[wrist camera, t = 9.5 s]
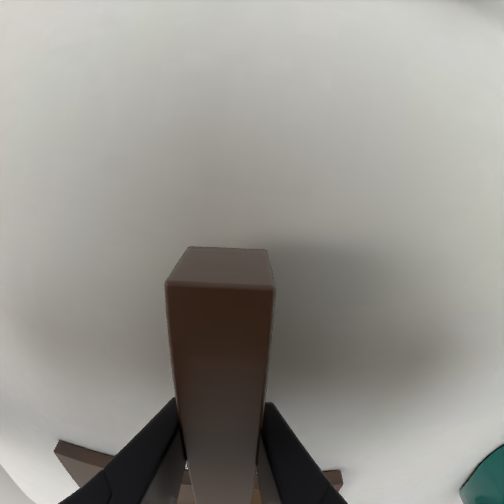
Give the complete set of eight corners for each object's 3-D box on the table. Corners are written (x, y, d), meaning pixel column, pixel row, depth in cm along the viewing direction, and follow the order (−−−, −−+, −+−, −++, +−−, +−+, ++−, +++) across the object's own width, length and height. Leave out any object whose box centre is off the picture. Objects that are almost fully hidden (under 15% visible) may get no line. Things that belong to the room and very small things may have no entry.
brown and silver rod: (214, 538, 14) (212, 564, 11) (187, 245, 8) (162, 281, 5) (242, 539, 14) (242, 565, 11) (268, 248, 8) (276, 286, 5)
